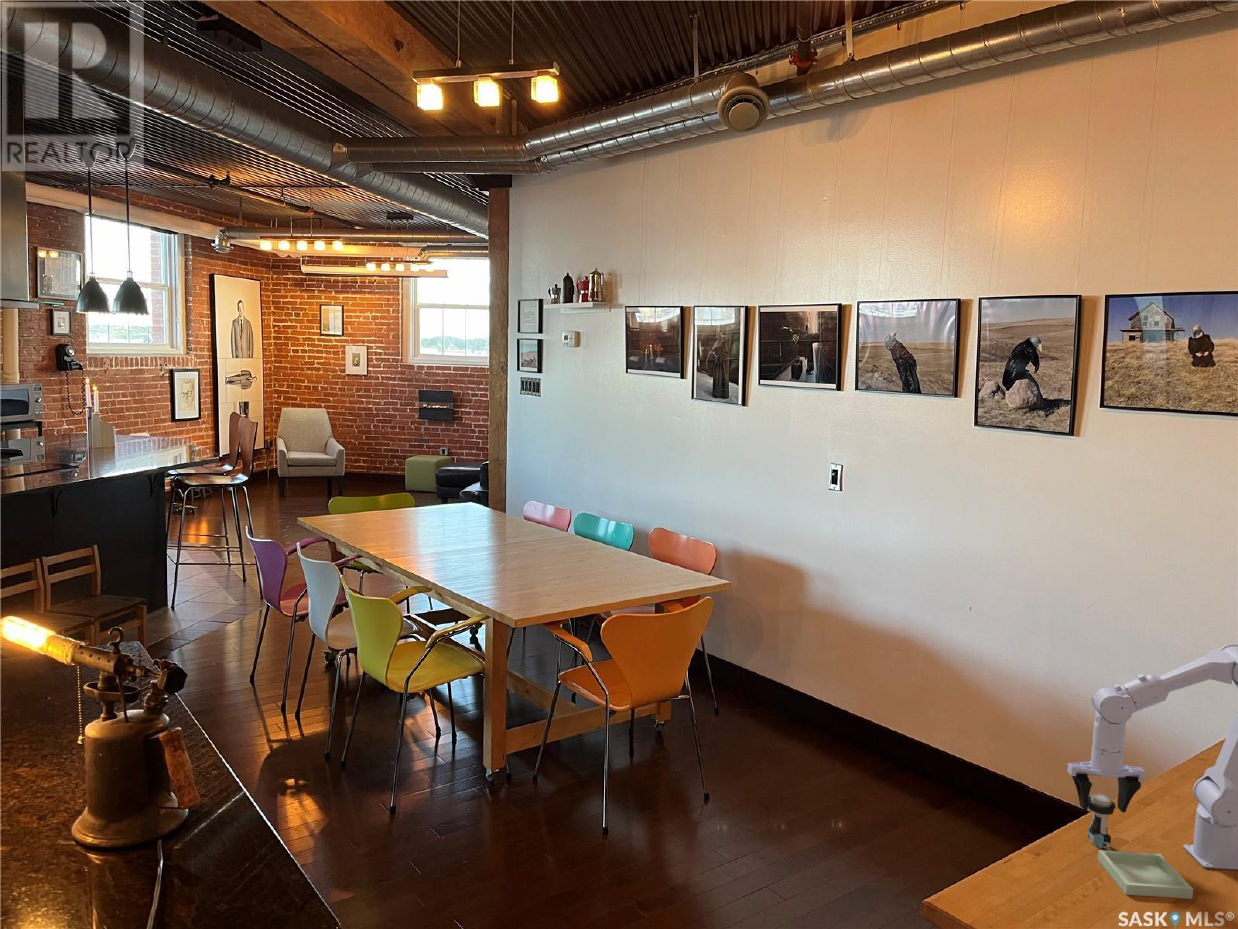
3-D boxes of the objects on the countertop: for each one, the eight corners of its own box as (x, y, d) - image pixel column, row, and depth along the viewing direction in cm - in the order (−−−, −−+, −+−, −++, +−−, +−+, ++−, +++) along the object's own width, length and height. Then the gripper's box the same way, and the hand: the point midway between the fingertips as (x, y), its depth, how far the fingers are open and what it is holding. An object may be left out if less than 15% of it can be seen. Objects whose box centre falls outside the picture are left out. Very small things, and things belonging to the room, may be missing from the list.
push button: (1121, 853, 183) (1125, 807, 182) (1097, 853, 183) (1100, 807, 181) (1102, 836, 189) (1106, 791, 188) (1078, 836, 189) (1081, 792, 188)
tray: (1159, 863, 179) (1160, 854, 179) (1192, 899, 167) (1193, 889, 167) (1097, 859, 180) (1098, 850, 180) (1125, 894, 168) (1126, 884, 168)
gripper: (1135, 740, 187) (1129, 801, 188) (1063, 736, 188) (1058, 797, 190) (1152, 755, 180) (1146, 818, 181) (1077, 751, 181) (1072, 814, 183)
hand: (1102, 809), depth 185 cm, fingers open, 7 cm apart
